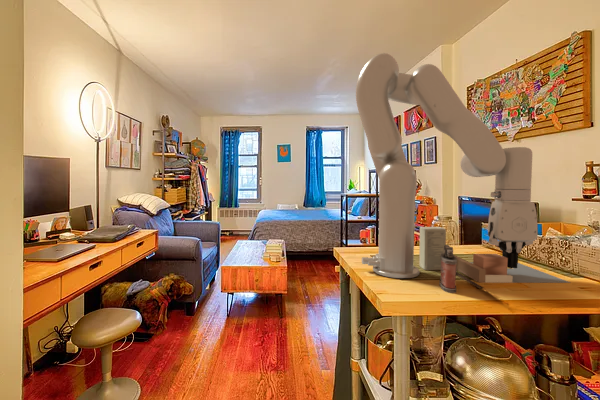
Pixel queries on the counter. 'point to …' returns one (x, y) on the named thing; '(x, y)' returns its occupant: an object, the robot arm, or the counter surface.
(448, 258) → the lighter
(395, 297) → the counter surface
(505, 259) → the block
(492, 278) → the trap deck
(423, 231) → the skincare box
